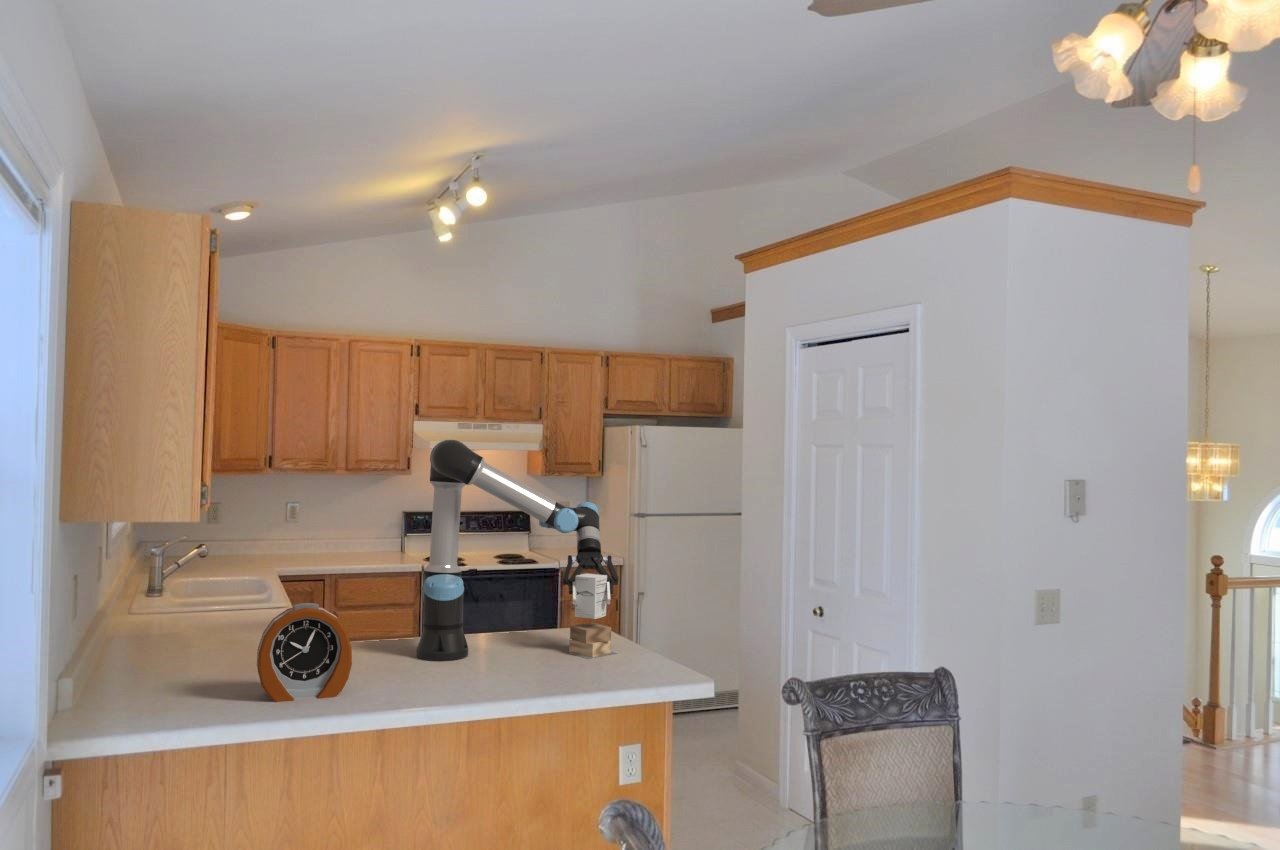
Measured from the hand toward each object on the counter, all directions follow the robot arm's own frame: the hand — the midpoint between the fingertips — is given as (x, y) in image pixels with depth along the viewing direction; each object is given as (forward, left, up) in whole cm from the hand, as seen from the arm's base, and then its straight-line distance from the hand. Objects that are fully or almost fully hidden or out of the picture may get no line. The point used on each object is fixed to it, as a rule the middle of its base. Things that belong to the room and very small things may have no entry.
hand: (591, 601), depth 291 cm
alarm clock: (-84, +12, -17) cm, 87 cm away
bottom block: (+2, +2, -16) cm, 16 cm away
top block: (+2, +2, -12) cm, 12 cm away
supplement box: (+2, +2, -5) cm, 6 cm away
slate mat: (+2, +2, -16) cm, 17 cm away
